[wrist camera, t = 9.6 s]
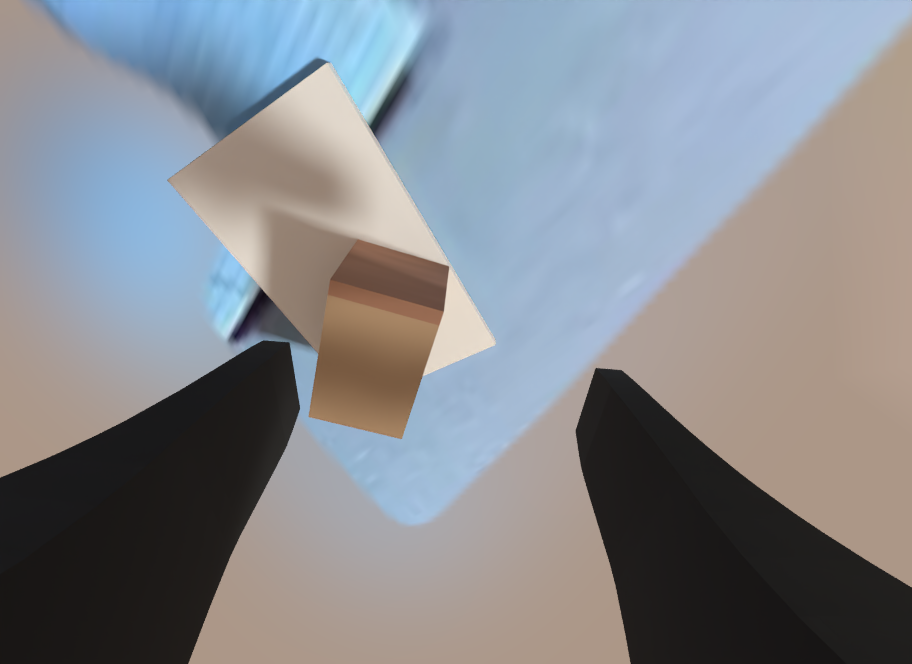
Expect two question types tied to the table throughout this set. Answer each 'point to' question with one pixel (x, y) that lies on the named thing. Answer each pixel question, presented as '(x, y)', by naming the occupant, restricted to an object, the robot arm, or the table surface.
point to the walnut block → (377, 338)
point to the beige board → (318, 208)
